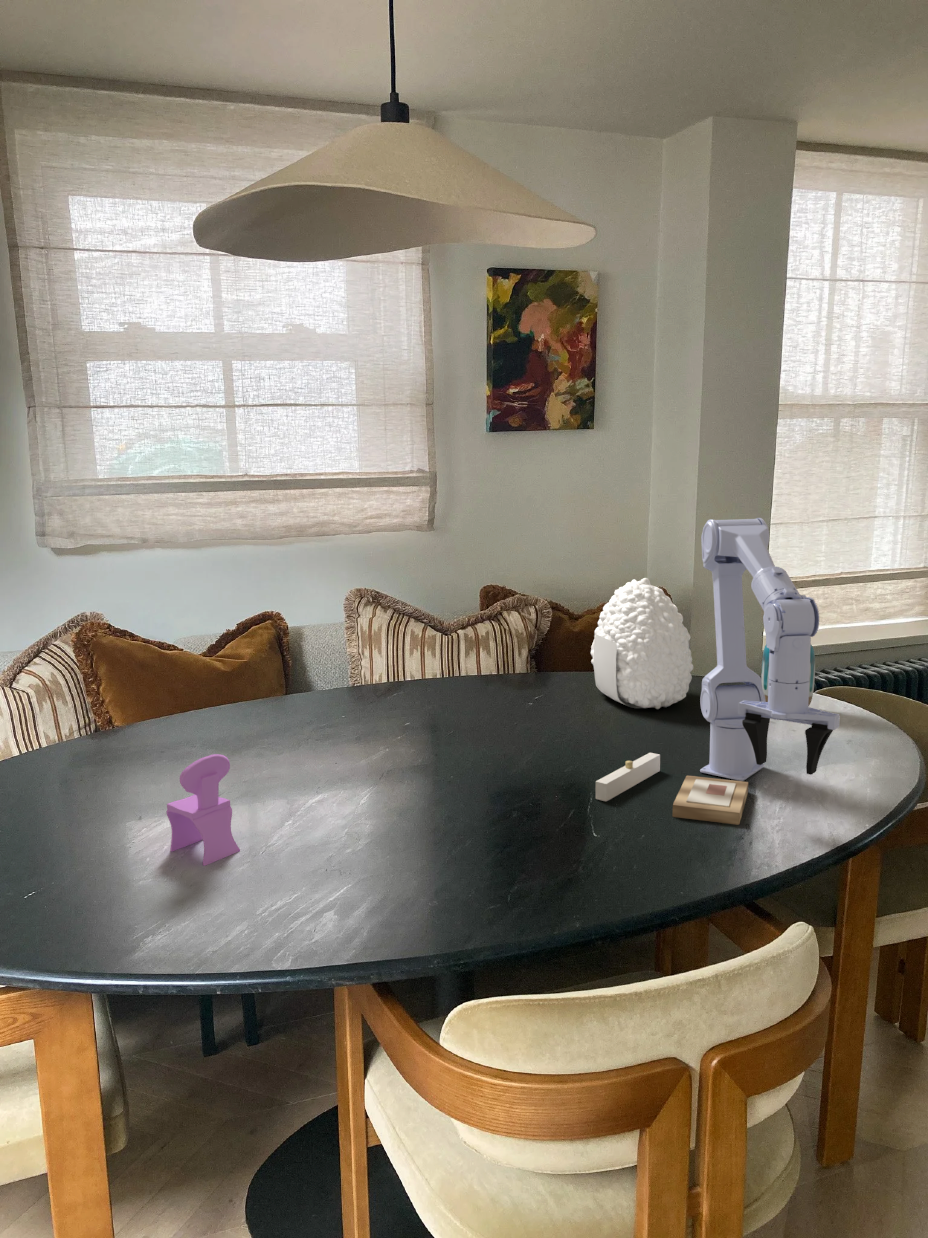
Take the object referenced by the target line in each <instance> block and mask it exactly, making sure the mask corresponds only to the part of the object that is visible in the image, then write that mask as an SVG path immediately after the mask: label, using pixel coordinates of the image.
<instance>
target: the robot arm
mask: <svg viewBox="0 0 928 1238" xmlns="http://www.w3.org/2000/svg"><path fill="white" fill-rule="evenodd" d="M700 540H701V541H700V542H701V559H702V563H703V568H704V569H706V570H708V571H710V572H711V575H712V576H711V579H712V586H713V587H712V588H713V602H714V603H713V605H714V607H713V608H714V609H713V610H714V623H715V643H716V661H717V663H716V666H715V667H714V668H713V669H711V671H710V672H708V673H706V674H705V676H704V677H703V678H702V681H701V692H700V699H699V700H700V701H699V702H700V709H701V713H702V716H703V718H704V719H705V720H706V721H707V722H709V723H710V724H709V726H710V729H709V730H710V731H709V732H710V733H709V734H710V735H709V761H708V762H709V763H708V764H707V765H705V766H703V767H702V768H700V770H699V771H700V773H703V774H708V775H712V776H718V777H722V778H726V779H728V780H730V779H731V780H733V781H743V782H745V780H747V779H748V778H750V777H751V776H753V775H755V774H756V773H757V772H759V771H760V770H762V769H763V768H764V767H765V763H766V762H767V757H768V735H769V727H770V722H771V720H778V721H785V722H788V723H789V722H791V723H797V724H803V725H809V726H810V727H808V728H807V729H805V730H804V734H805V735H804V736H805V743H806V751H807V752H806V767H805V768H806V769H805V770H806V775H811V776H812V775H813V774H815V773H816V772H817V770H818V764H819V760H820V758H821V754H822V752H823V750H824V748H825V746H826V744H827V741H829V738H830V736H831V735H832V733H833V732H834V731H835V730H836V729H839V728H840V719H841V716H840V715H841V714H839V713H833V712H830V711H826V710H825V711H824V710H821V709H818V708H814V707H810V706H809V707H808V701H809V676H810V648H811V645H812V642H811V641H812V638H813V637H815V636H816V635H817V633H818V631H819V626H820V612H819V611H820V610H819V607H818V605H817V603H816V601H815V599H814V598H813V597H810V596H806V594H800V592H799V591H798V589H797V587H796V585H795V584H794V582H793V580H792V578H791V577H790V576H789V574H788V573H787V571H786V569H784V568H782V567H780V566H776V565H775V563H774V561H773V558H772V557H771V554H770V551H769V549H768V546H769V543H770V530H769V526H768V524H767V522H766V521H765V520H764V519H763V518H762V517H756V518H746V519H745V518H744V519H739V518H737V519H735V518H734V519H713V518H712V519H708V520H707V521H706V523H705V524H704V526H703V528H702V533H701V538H700ZM746 570H747V571H748V573H749V574H750V575H751V577H752V579H751V584H750V585H751V586H750V587H751V591H752V592H753V594H754V596H755V598H756V600H757V602H758V603H759V605H760V607H761V609H762V611H763V615H762V616H763V619H762V621H763V627H764V632H765V645H766V644H767V648H769V680H768V702H766V701H765V695H764V692H763V688H762V681H761V675H759V674H758V673H757V672H755V671H753V670H752V669H751V668H749V667H748V665H747V650H746V649H747V648H746V631H745V627H746V626H745V617H744V616H745V614H744V613H745V612H744V608H745V607H744V594H743V593H744V592H743V575H744V574H745V571H746ZM723 683H725V685H720V684H723ZM728 683H731V684H728ZM732 683H744V684H732ZM726 684H727V685H726Z"/></svg>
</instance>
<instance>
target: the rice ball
mask: <svg viewBox="0 0 928 1238" xmlns="http://www.w3.org/2000/svg"><path fill="white" fill-rule="evenodd" d="M613 594H614V595H612V596H611V597H610V599H609V602H607V603H605V604H604V606H603V607H602V611H601V612H600V614H599V616H598V617H599V619H598V621H597V627H596V628H595V630H594V635H593V637H594V639H593V642H591V643H592V645H591V646H590V648H591V649H590V655H591V657H592V659H591V661H590V662H591V664H592V666H593V670H594V671H593V673H594V681H595V686H596V687H597V689H598V690H599V691H600V692H601V693H602V694H603V695H605V696H607V697H608V698H609V699H612V700H614V701H615V702H618V703H620V704H623V705H625V706H627V707H629V708H634V709H648V708H649V709H651V708H654V709H656V710H659V709H661V708H662V707H663V708H667V707H670V706H671V705H673V704H677V703H678V702H680V701H682V700H683V699H685V698H686V697H687V693H688V692H689V689H690V687H689V686H690V683H691V681H692V679H693V677H692V674H691V672H692V671H693V670H694V665H693V663H692V662H693V656H692V651H691V649H692V647H691V642H690V639H691V634H690V633H689V632H688V629H687V627H685V626H684V624H683V622H684V616H683V614H681V612H678V611H679V608H678V606H676V605H675V604H674V603H673V602H672V599H671V598H670V597H669V596H668V595H666V594H665V592H664V590H663V589H662V588H659V587H658V586H654V585H652V584H651V581H650V579H649V578H648V577H644V578H642V579H640V580H637V579H635V578H634V579H632V580H631V581H628V582H626V583H625V585H623V586H620V587H618V589H614V592H613Z"/></svg>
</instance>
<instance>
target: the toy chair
mask: <svg viewBox="0 0 928 1238" xmlns="http://www.w3.org/2000/svg"><path fill="white" fill-rule="evenodd" d="M230 768H231V763H230V759H229V758H228V756H225V755H224V754H218V753H213V754H209V755H207V756H203V757H200V758H198V759H197V760H195V761H193V762H192V763H190V764H189V765H188V766H186V767H185V768H184V769H183V770H182V771H181V773H180V774H179V783H180V786H181V787H182V788H183V789H184V791H185V792H186V793H189V794H192V795H190V796H188V797H185V798H182V799H178V800H174V801H172V802H168V803H166V812H165V813H166V816H167V818H168V821H169V824H170V828H171V839H170V840H171V841H170V852H175V851H177V850H180V849H183V848H185V847H187V846H190V845H193V844H195V843H198V842H200V841H202V842H203V857H202V866H204V867H205V866H208V865H210V864H212V863H215V862H217V861H220V860H222V859H224V858H227V857H229V856H231V855H233V854H236V853H238V852H240V851H241V849H240V846H238V843H236V841H235V838H234V837H233V833H232V818H233V817H232V816H233V808H232V806H231V800H230V799H227V798H225V797H220V796H219V791H220V790H219V784H220V782H221V781H222V779H223V778H224V777H225V776H227V775H228V773H229V771H230Z"/></svg>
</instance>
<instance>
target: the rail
mask: <svg viewBox="0 0 928 1238" xmlns="http://www.w3.org/2000/svg"><path fill="white" fill-rule="evenodd" d="M660 771H661V754H658V753H656V752H655V753H653V752H648V753H647V754H645V755H641V757H639V758H636V759H635V760H633V761H632V760H626V761H625V765H624V766H621V767H620V768H618V769H616V770H614V771H613V772H611V773H609V774H607V775H605V776H603V777H601V778H600V779H597V780H596V781H595V799H596V800H599V801H603V802H608V801H611V800H612V799H613V798H615V797H617V796H619V795H620V794H622V793H624V792H626V791H627V790H629V789H631V788H632V787H635V786H636V785H637V784H640V783H641V782H643V781H644V780H647V779H648V778H651V777H652V776H653V775H655V774H657V773H658V772H660Z"/></svg>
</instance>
